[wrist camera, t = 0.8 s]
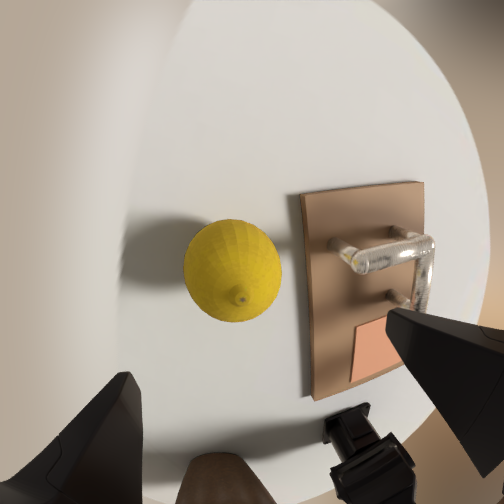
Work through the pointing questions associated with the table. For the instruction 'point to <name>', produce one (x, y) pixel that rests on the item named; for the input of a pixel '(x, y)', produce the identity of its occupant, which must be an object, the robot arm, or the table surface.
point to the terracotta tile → (372, 349)
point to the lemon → (232, 270)
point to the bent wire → (394, 263)
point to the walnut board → (352, 272)
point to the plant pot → (221, 482)
